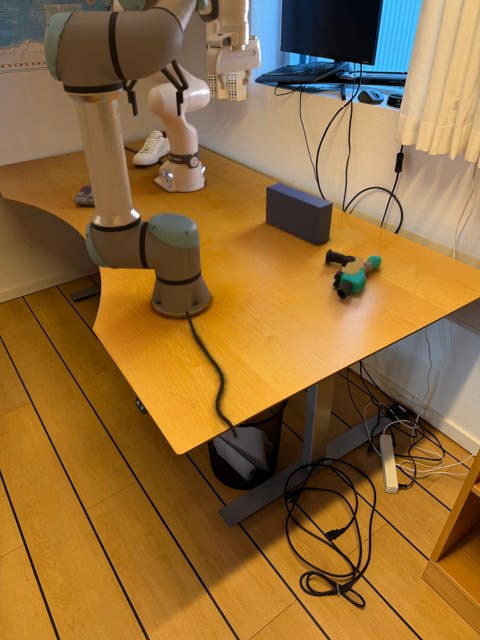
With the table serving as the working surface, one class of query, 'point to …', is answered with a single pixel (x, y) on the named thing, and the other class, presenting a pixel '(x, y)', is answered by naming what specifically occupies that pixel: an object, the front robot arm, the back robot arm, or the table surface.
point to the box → (298, 213)
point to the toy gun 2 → (351, 272)
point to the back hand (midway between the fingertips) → (235, 87)
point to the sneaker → (153, 148)
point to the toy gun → (85, 196)
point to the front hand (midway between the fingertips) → (157, 115)
